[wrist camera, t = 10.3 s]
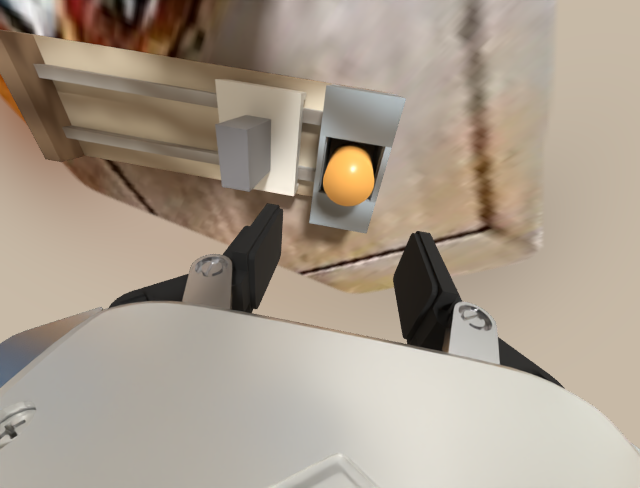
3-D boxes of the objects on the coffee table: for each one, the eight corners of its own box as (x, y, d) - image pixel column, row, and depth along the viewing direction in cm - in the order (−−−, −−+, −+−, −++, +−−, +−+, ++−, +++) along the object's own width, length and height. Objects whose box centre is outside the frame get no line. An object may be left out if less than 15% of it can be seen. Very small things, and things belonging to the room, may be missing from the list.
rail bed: (30, 34, 25) (-83, 18, 19) (393, 93, 24) (405, 98, 18) (81, 150, 32) (11, 167, 26) (364, 201, 31) (366, 233, 25)
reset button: (333, 138, 22) (327, 152, 18) (376, 146, 22) (380, 161, 18) (326, 181, 24) (319, 201, 20) (365, 188, 24) (367, 210, 20)
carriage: (227, 79, 24) (172, 78, 17) (306, 92, 23) (284, 97, 16) (234, 176, 29) (196, 206, 22) (298, 188, 29) (279, 222, 22)
